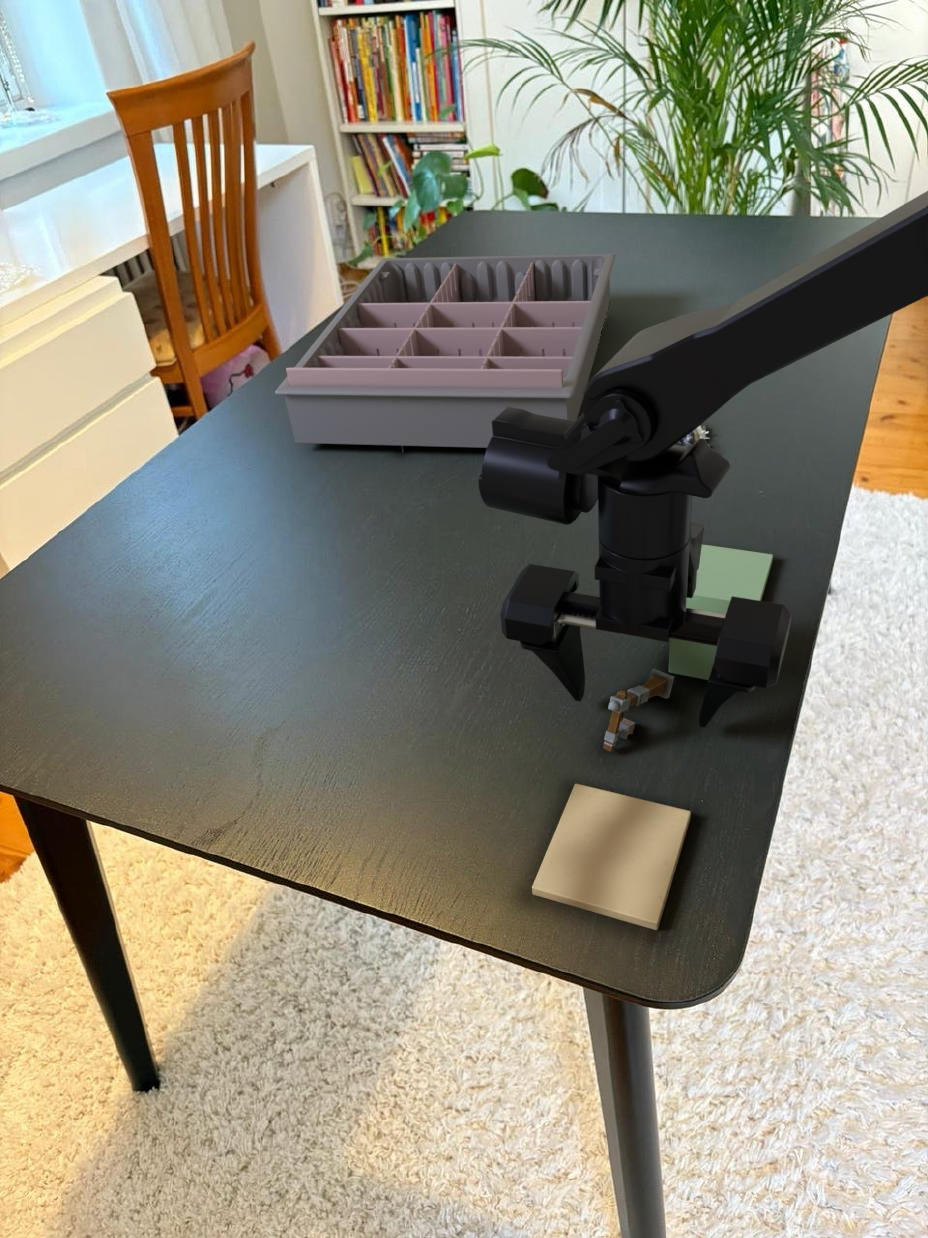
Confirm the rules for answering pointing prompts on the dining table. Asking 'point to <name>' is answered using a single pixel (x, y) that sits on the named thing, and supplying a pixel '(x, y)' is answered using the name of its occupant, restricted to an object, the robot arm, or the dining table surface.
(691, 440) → the blue white patterned piece
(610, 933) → the dining table surface
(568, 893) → the birch pad
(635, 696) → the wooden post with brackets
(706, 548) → the sage pad
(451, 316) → the organizer tray
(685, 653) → the sage block
